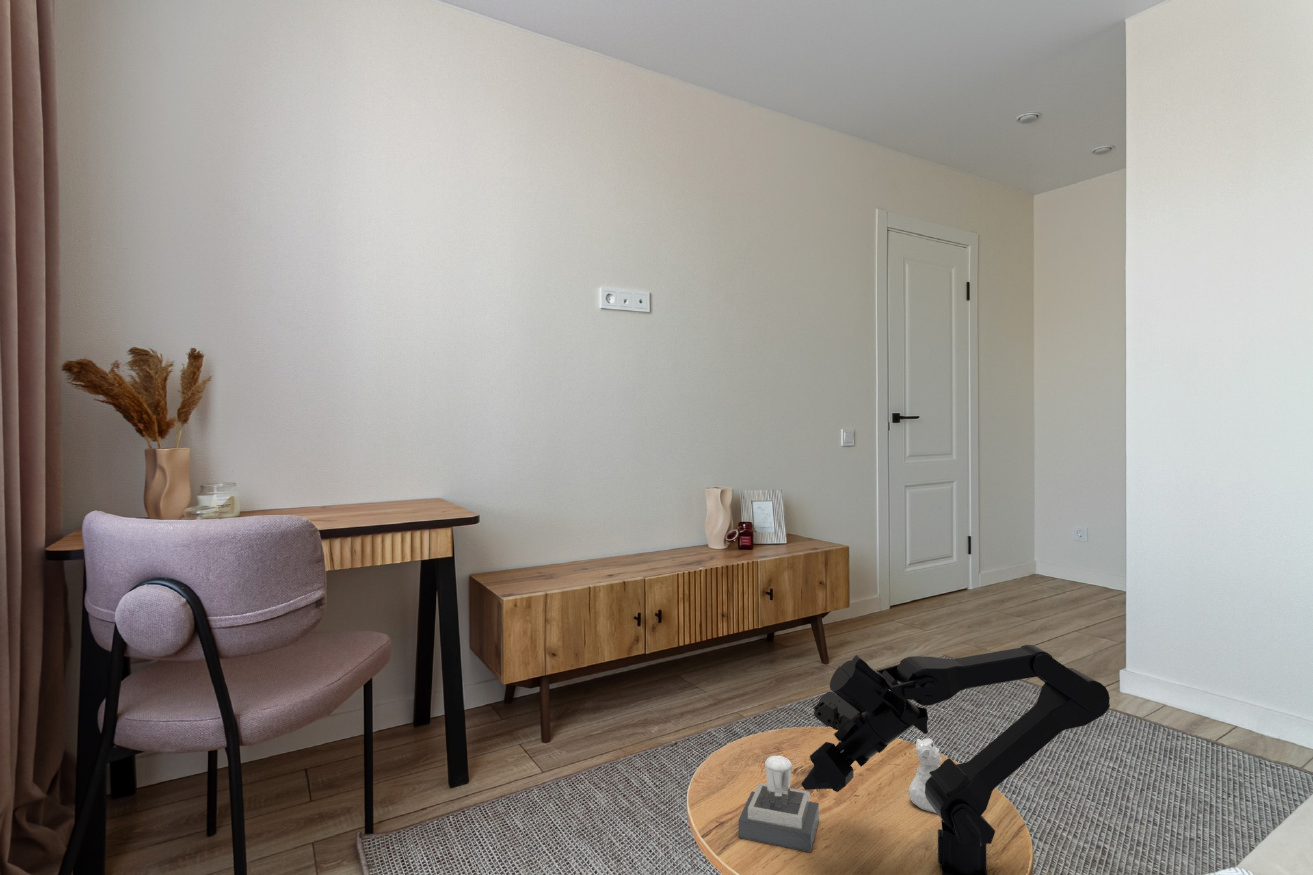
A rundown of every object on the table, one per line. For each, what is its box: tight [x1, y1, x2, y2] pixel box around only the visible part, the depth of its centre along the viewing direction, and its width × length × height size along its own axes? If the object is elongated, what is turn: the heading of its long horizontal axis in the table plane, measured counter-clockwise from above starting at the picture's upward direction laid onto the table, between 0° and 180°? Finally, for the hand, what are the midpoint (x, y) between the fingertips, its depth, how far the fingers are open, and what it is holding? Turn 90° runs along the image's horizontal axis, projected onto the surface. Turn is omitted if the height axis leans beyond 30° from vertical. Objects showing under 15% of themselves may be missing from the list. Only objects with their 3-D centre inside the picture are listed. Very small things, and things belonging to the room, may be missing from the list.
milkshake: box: [764, 754, 797, 813], centre depth 119 cm, size 5×5×10 cm
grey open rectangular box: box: [738, 782, 820, 853], centre depth 119 cm, size 12×10×5 cm
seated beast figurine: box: [907, 737, 943, 814], centre depth 126 cm, size 10×9×12 cm
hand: (814, 775), depth 115 cm, fingers open, 9 cm apart
